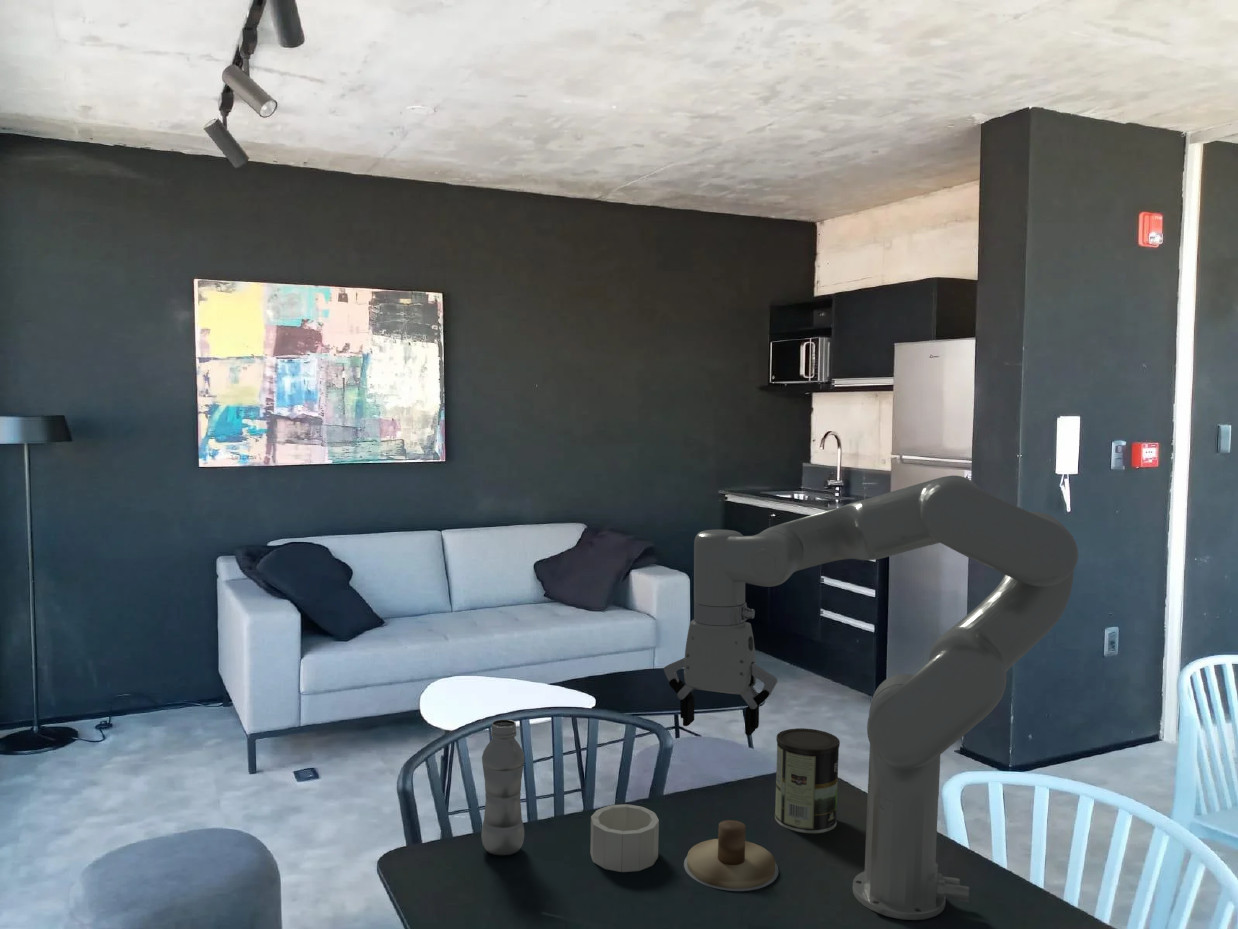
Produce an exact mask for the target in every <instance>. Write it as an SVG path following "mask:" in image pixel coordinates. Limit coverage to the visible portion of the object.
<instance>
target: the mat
mask: <svg viewBox="0 0 1238 929" xmlns="http://www.w3.org/2000/svg"><path fill="white" fill-rule="evenodd" d="M683 868H684V870H685V872H686V873H687V874H688V875H689V877H691V878H692V879H693V880H695V881H696V882H698V883H700V884H702V885H703V886H707V887H710V888H713V889H718V890H721V891H723V890H724V891H730V892H731V891H732V892H733V891H734V892H746V891H753V890H759V889H761V888H764V887H767V886H768V885H771V884H772V883H773V882H774V881H775V880H776V879H777V877H778V876H779V867H778V864H777V863H776V862H775V874H774V876H773V878H772V879H771V880H770V881H768V882H767V883H765V884H763V885H760V886H757V887H753V888H746V889H730V888H722V887H718V886H714V885H710V884H708V883H705V882H703V881H701V880H699V879H698V878H696V877H695V876H694V875H693V874H692V873H691V872H690V871H689V869H688V866H687V856H686V857H685V858H684V861H683Z"/></svg>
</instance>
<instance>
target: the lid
mask: <svg viewBox="0 0 1238 929" xmlns="http://www.w3.org/2000/svg"><path fill="white" fill-rule="evenodd" d="M746 829H747V828H746V825H745V824H744V823H743V822H741V821H739V820H732V819H727V820H723V821H720V822H719V824H718V834H717V838H712V839H707V840H704V841H701V842H698V843H696V844H694V845H693V846H692V847H691V848H690V849H689V850H688V853H687V855H686V857H687V866H688V869H689V871H690V872H691V873H692V874H693V875H694V876H695V877H696V878H698V879H699V880H701V881H703V882H705V883H708V884H710V885H714V886H718V887H722V888H730V889H746V888H753V887H757V886H760V885H763V884H765V883H767V882H768V881H770V880H771V879H772V878H773V876H774V874H775V863H776V860H775V857H774V856H773V854H772V853H771V852H770V851H769V850H767V849H766V848H765V847H763V846H761V845H758V844H756V843H753V842H751V841H747V840H746V832H747V831H746Z"/></svg>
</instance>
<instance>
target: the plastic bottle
mask: <svg viewBox="0 0 1238 929" xmlns="http://www.w3.org/2000/svg"><path fill="white" fill-rule="evenodd" d="M490 736H491V737H492V739H491V740H489V742H488V744H487V745H486V747H485V748H484V750H483V752H482V756H481V764H482V771H483V778H484V791H485V792H484V793H485V795H484V796H485V805H484V813H483V814H484V815H483V822H482V827H481V833H480V834H481V835H480V836H481V842H482V846H483V847H484V849H485V850H486V851H487V853H489V854H491V855H493V856H494V855H495V856H510V855H513V854H516V853H517V852H519V851H520V849H521V847H522V846H523V844H524V839H525V827H524V823H523V822H524V821H523V817H522V816H523V815H522V803H521V795H522V794H521V791H522V780H523V779H522V778H523V772H524V765H525V754H524V750H523V749H522V747H521V745H520V744H519V742H518V740H516V738H515V737H516V736H517V723H516V721H515V720H512V719H505V718H504V719H496V720H494V721H492V723H491V731H490Z"/></svg>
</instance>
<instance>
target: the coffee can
mask: <svg viewBox="0 0 1238 929" xmlns="http://www.w3.org/2000/svg"><path fill="white" fill-rule="evenodd" d="M840 744H841V741H840V739H839V738H838V737H837V736H836V735H834V734H832V733H831V732H827V731H824V730H819V729H814V728H804V727H802V728H799V727H798V728H789V729H785V730H782V731H779V732H778V733H777V734H776V776H775V809H774V810H775V812H774V819H775V821H776V822H777V823H778V824H779V825H780V826H781V827H783V828H786V829H788V830H790V831H792V832H798V833H802V834H803V833H804V834H821V833H826V832H830V831H831V830H833V829H835V828H836V826H837V824H838V823H837V808H838V807H837V805H838V781H839V780H838V778H839V755H840V754H839V752H840V751H839V750H840Z"/></svg>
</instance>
